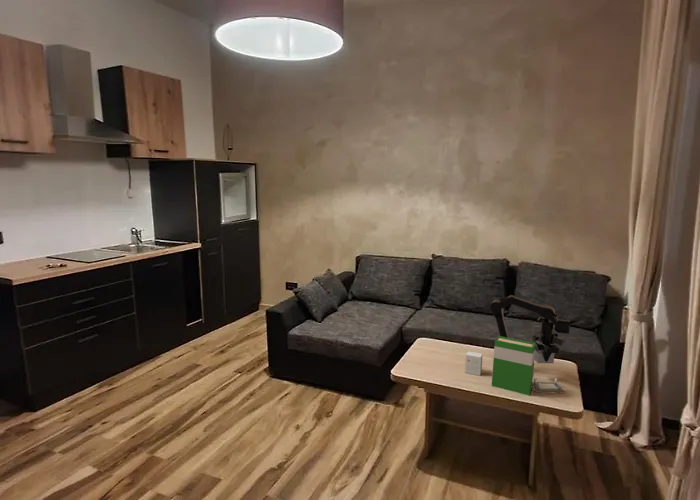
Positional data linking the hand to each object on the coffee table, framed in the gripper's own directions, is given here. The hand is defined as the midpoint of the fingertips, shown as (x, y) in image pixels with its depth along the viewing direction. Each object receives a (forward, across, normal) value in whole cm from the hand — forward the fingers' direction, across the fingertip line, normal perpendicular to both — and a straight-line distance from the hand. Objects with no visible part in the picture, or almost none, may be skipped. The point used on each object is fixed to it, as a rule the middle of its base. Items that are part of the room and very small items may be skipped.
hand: (544, 359), depth 225 cm
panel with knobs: (+11, -10, +2) cm, 15 cm away
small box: (+11, +7, +34) cm, 36 cm away
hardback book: (+11, -10, +20) cm, 25 cm away
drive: (+1, 0, 0) cm, 1 cm away
